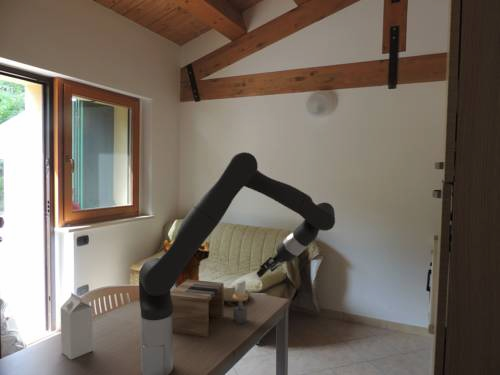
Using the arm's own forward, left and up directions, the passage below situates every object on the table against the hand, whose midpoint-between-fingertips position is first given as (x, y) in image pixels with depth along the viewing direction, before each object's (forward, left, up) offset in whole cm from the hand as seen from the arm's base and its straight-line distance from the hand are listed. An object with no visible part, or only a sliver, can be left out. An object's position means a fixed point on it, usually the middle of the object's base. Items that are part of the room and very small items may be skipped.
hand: (264, 272), depth 128 cm
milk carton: (-16, +62, -22) cm, 68 cm away
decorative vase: (+34, +35, -22) cm, 53 cm away
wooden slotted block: (+5, +26, -22) cm, 34 cm away
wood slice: (+30, +13, -22) cm, 39 cm away
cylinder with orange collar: (+7, +9, -22) cm, 25 cm away
